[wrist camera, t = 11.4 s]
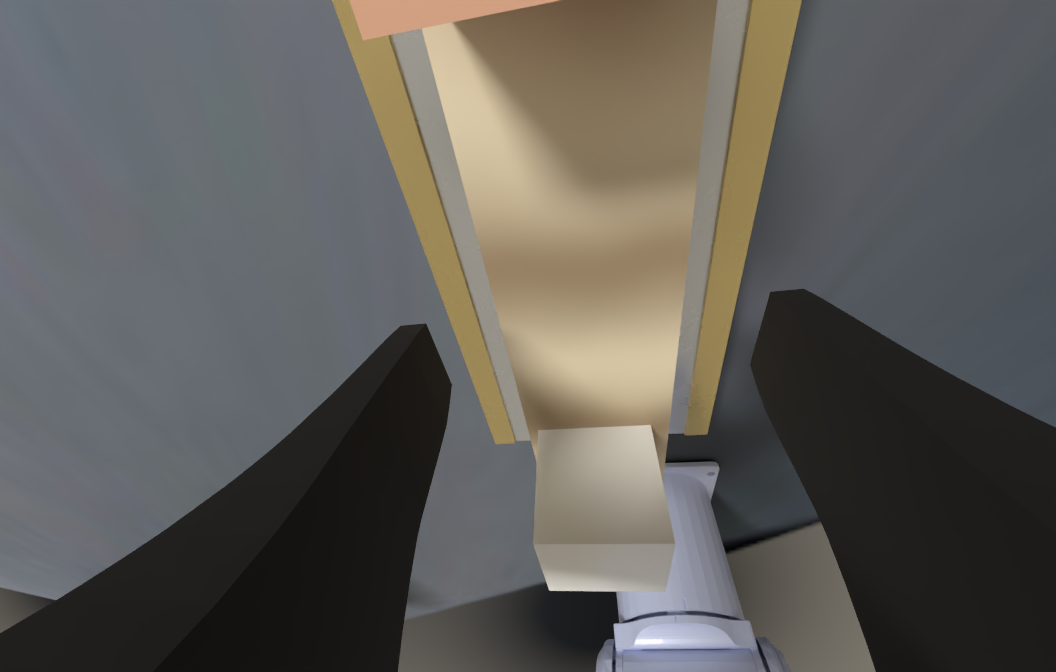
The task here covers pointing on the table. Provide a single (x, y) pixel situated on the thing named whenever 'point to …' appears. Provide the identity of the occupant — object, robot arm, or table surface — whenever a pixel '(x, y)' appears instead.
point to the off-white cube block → (601, 510)
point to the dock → (718, 219)
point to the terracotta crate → (424, 13)
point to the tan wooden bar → (582, 193)
